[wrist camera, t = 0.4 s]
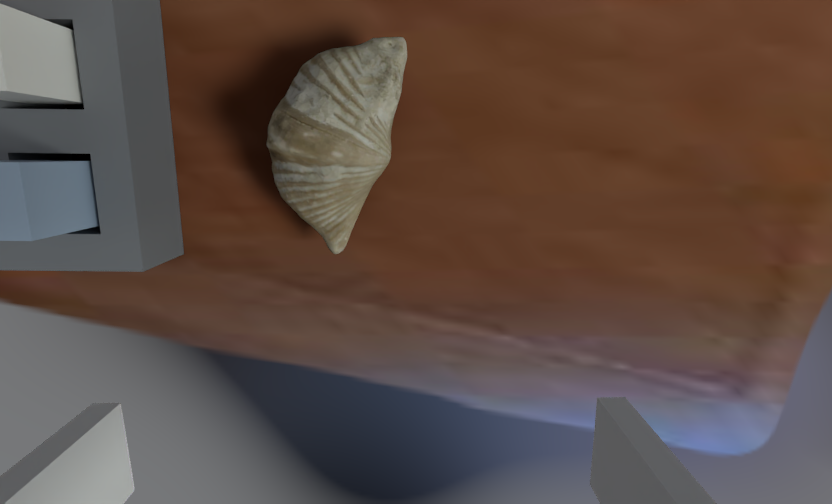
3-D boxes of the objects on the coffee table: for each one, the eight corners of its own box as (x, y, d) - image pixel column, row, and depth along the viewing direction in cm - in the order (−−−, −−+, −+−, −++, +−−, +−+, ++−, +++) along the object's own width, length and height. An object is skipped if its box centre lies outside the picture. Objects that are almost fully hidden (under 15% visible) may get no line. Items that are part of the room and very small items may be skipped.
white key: (16, 33, 31) (-95, -1, 24) (84, 34, 31) (-8, 0, 25) (27, 103, 32) (-77, 89, 25) (93, 104, 32) (7, 90, 25)
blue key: (36, 159, 33) (-63, 161, 26) (100, 160, 33) (18, 162, 26) (46, 223, 34) (-47, 240, 27) (108, 223, 34) (31, 241, 27)
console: (-6, -127, 33) (-96, -188, 27) (147, -124, 33) (90, -184, 27) (53, 252, 39) (-11, 270, 33) (183, 253, 39) (143, 271, 33)
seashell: (375, 268, 34) (292, 195, 26) (290, 239, 39) (198, 171, 31) (452, 116, 38) (402, 11, 30) (366, 107, 42) (302, 15, 34)
